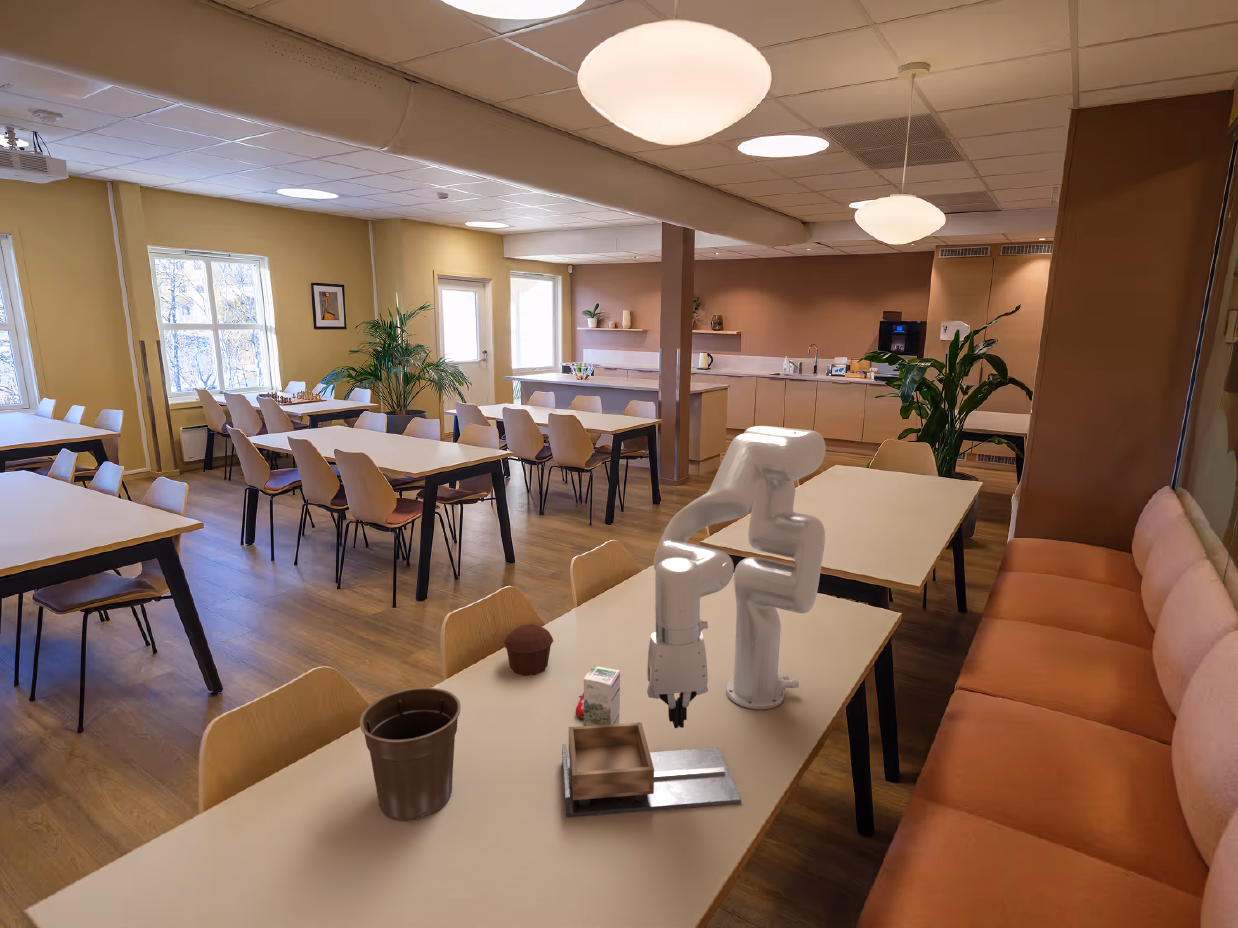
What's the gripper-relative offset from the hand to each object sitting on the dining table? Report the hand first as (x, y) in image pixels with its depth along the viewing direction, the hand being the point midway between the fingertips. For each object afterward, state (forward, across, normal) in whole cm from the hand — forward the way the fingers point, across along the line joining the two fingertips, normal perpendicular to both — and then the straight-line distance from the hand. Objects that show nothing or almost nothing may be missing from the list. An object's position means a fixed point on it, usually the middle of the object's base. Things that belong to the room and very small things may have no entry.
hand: (677, 722), depth 117 cm
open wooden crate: (+10, +13, +1) cm, 16 cm away
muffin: (+12, +27, -43) cm, 52 cm away
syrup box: (+11, +13, -12) cm, 20 cm away
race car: (+12, +13, -24) cm, 30 cm away
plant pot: (+9, +46, 0) cm, 47 cm away
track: (+10, +6, +1) cm, 12 cm away
